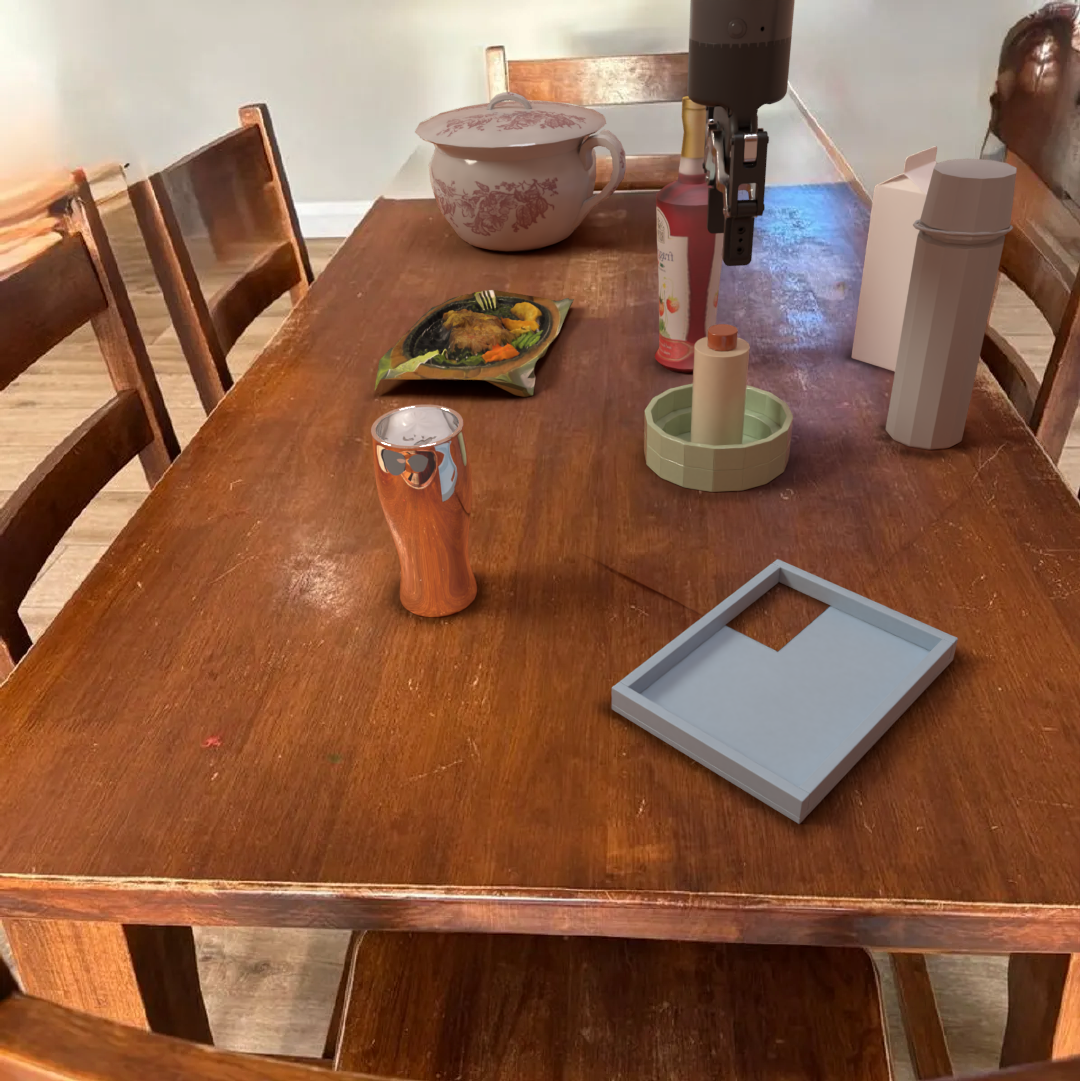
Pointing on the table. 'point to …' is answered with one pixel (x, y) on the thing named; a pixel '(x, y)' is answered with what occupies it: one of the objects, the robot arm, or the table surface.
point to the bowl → (721, 463)
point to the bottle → (719, 387)
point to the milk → (890, 260)
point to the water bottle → (949, 300)
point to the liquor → (686, 251)
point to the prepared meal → (478, 340)
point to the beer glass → (427, 505)
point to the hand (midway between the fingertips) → (727, 247)
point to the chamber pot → (518, 170)
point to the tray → (785, 690)
